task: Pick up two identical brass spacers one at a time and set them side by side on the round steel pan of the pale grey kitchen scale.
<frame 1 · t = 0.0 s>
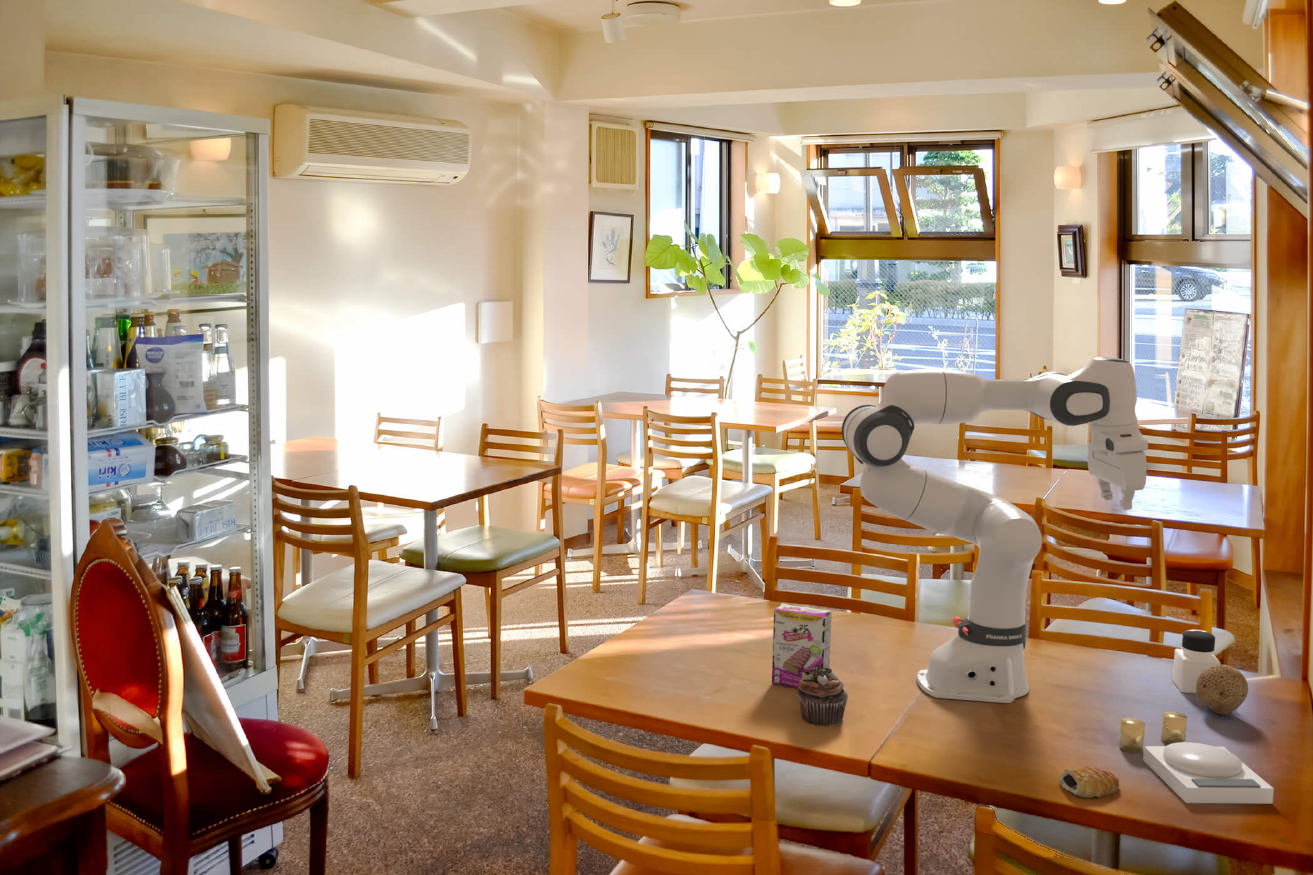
hand: (1116, 504, 223), 39 cm above the table, tool pointing down, fingers open, 8 cm apart
scale: (1204, 780, 186), on the table
cupcake: (821, 718, 212), on the table
candy bar box: (800, 686, 229), on the table
spacer a: (1130, 748, 199), on the table
pastry: (1087, 790, 184), on the table
natural sponge: (1219, 715, 215), on the table
spacer b: (1173, 741, 202), on the table
medicine bottle: (1194, 688, 229), on the table
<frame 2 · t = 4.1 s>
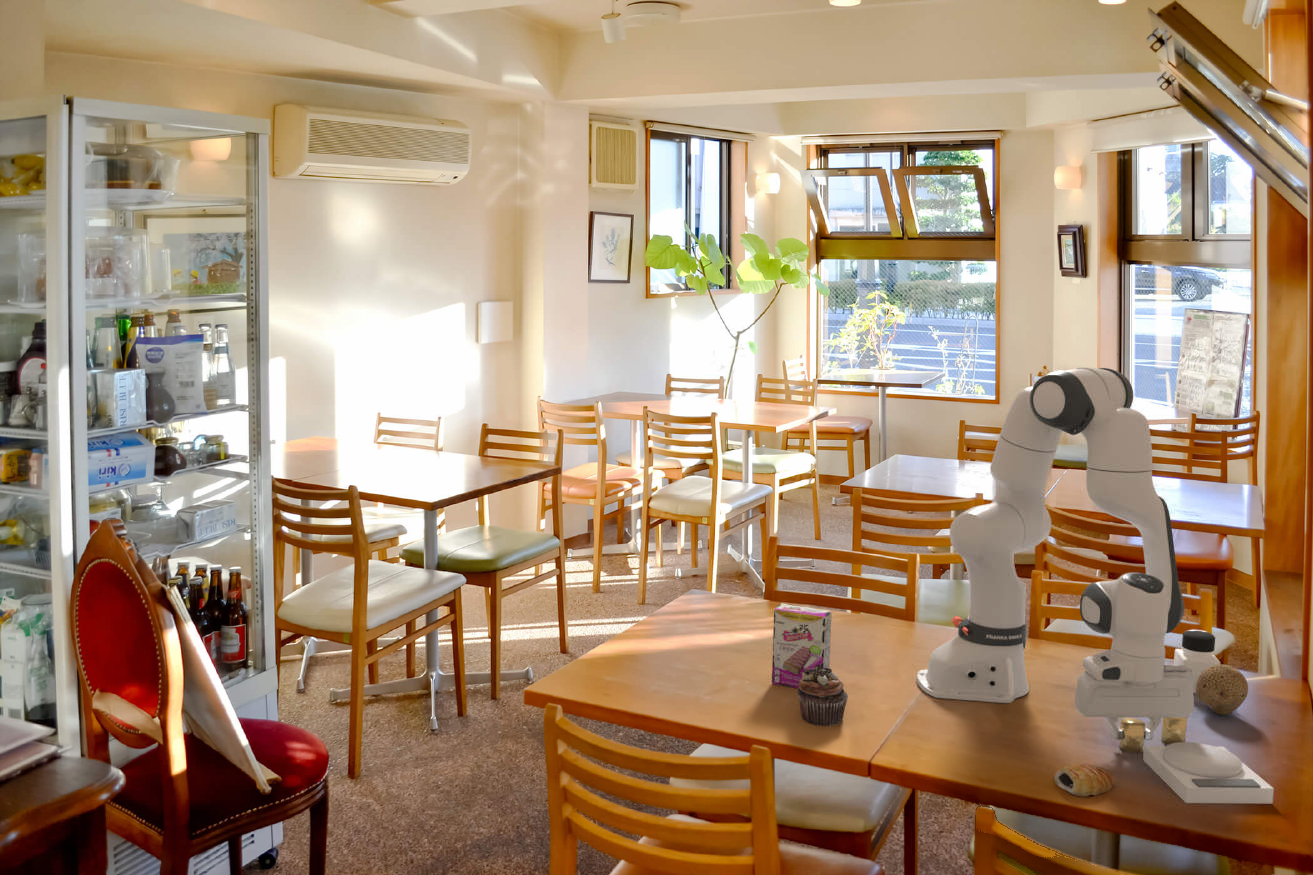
hand: (1131, 738, 199), 2 cm above the table, tool pointing down, fingers closed on spacer a, 4 cm apart
spacer a: (1131, 748, 199), on the table, touching gripper
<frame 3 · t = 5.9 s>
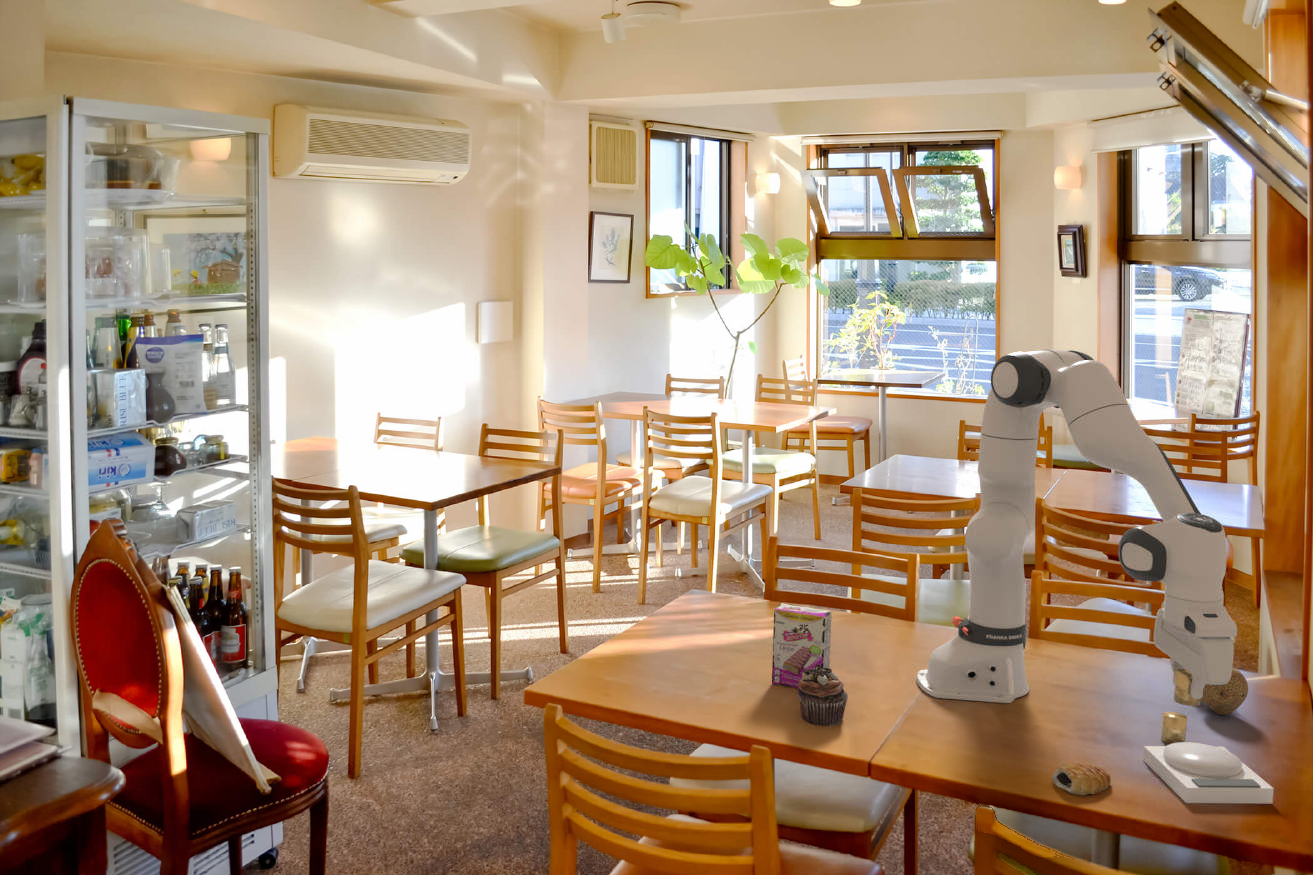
hand: (1187, 691, 186), 15 cm above the table, tool pointing down, fingers closed on spacer a, 4 cm apart
spacer a: (1186, 701, 186), point 14 cm above the table, touching gripper
when the fingers open (7 cm above the table, at t = 7.7 s): spacer a drops 1 cm, resting on scale.
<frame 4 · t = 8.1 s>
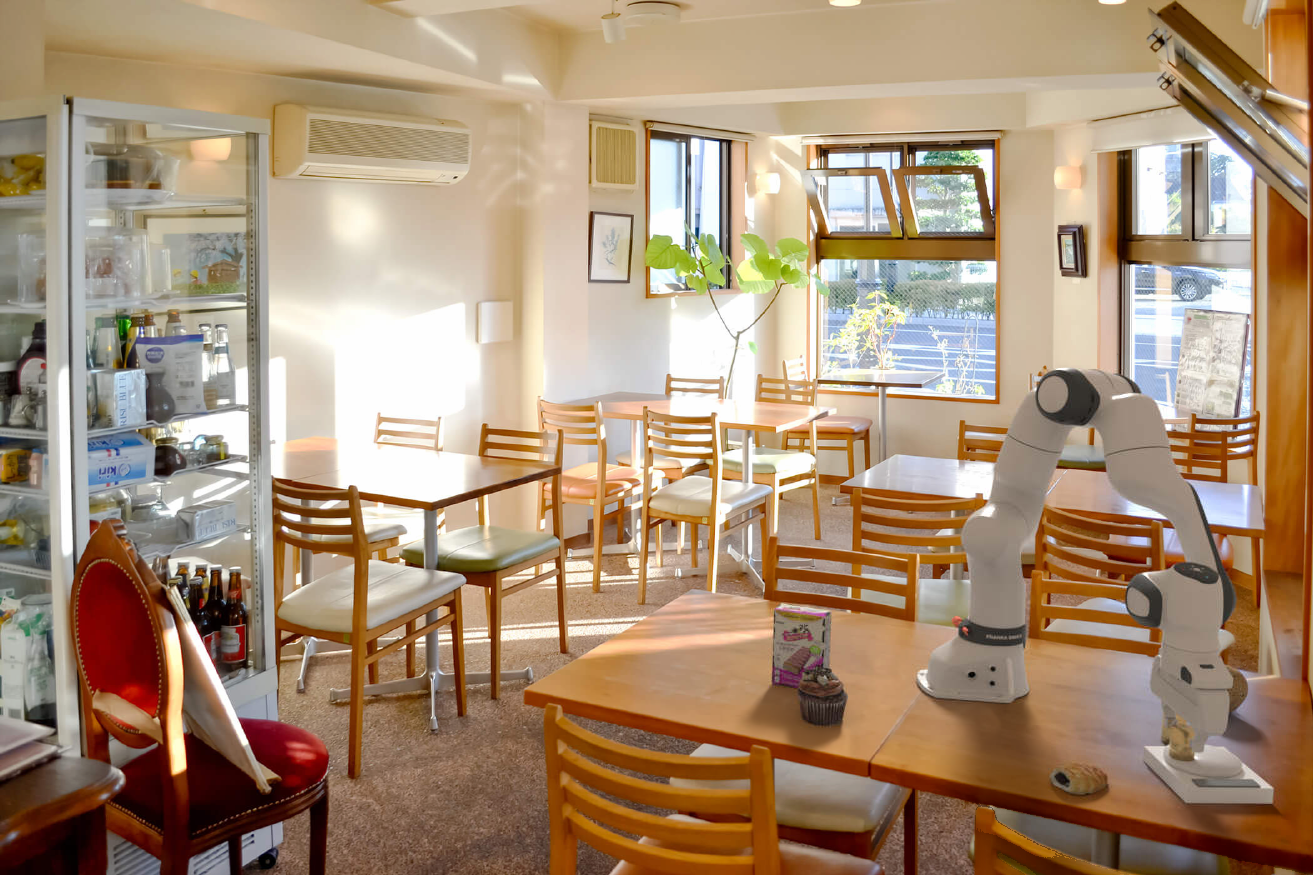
hand: (1182, 738, 187), 7 cm above the table, tool pointing down, fingers open, 8 cm apart
spacer a: (1181, 756, 188), point 4 cm above the table, touching scale
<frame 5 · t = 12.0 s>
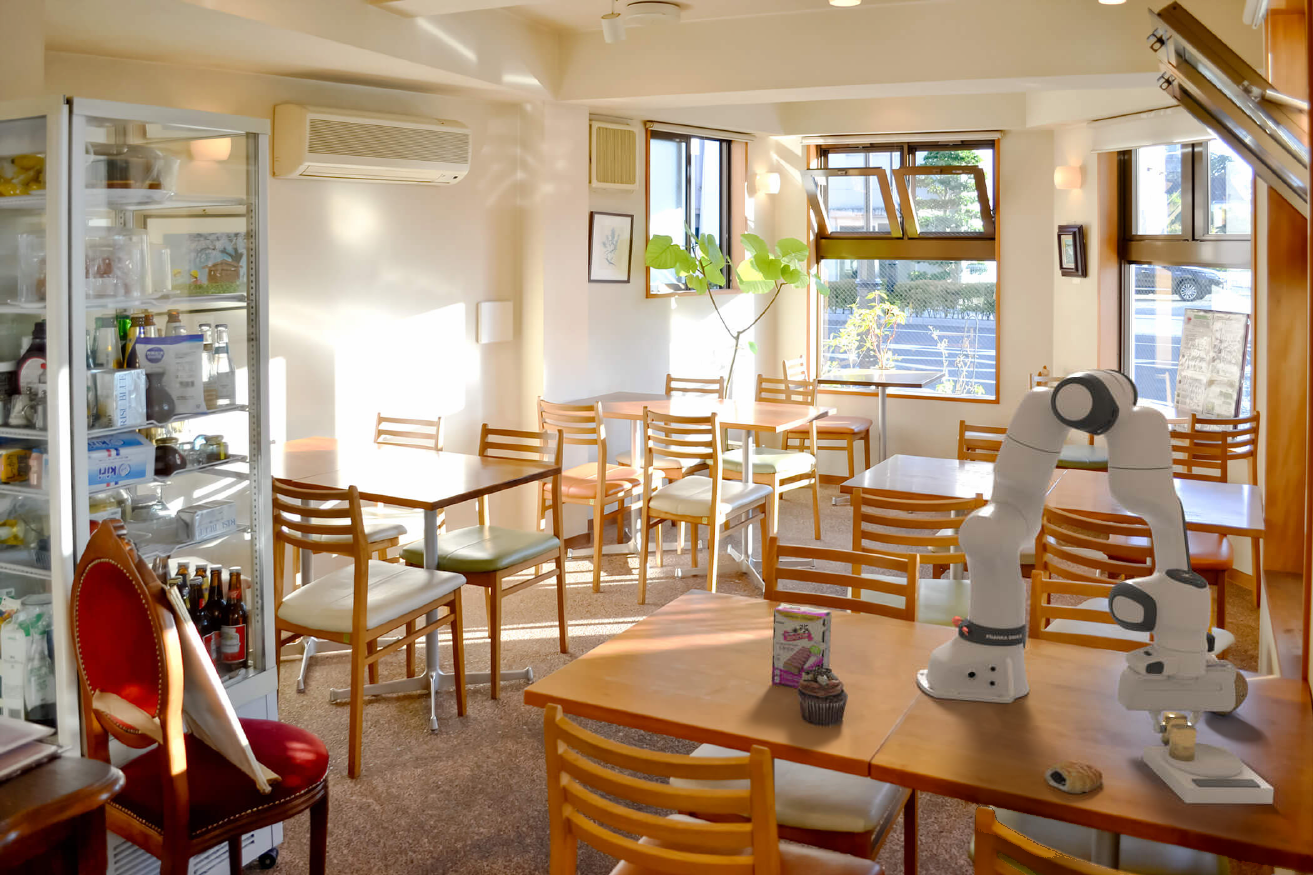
hand: (1173, 732, 202), 2 cm above the table, tool pointing down, fingers closed on spacer b, 4 cm apart
spacer b: (1173, 741, 202), on the table, touching gripper
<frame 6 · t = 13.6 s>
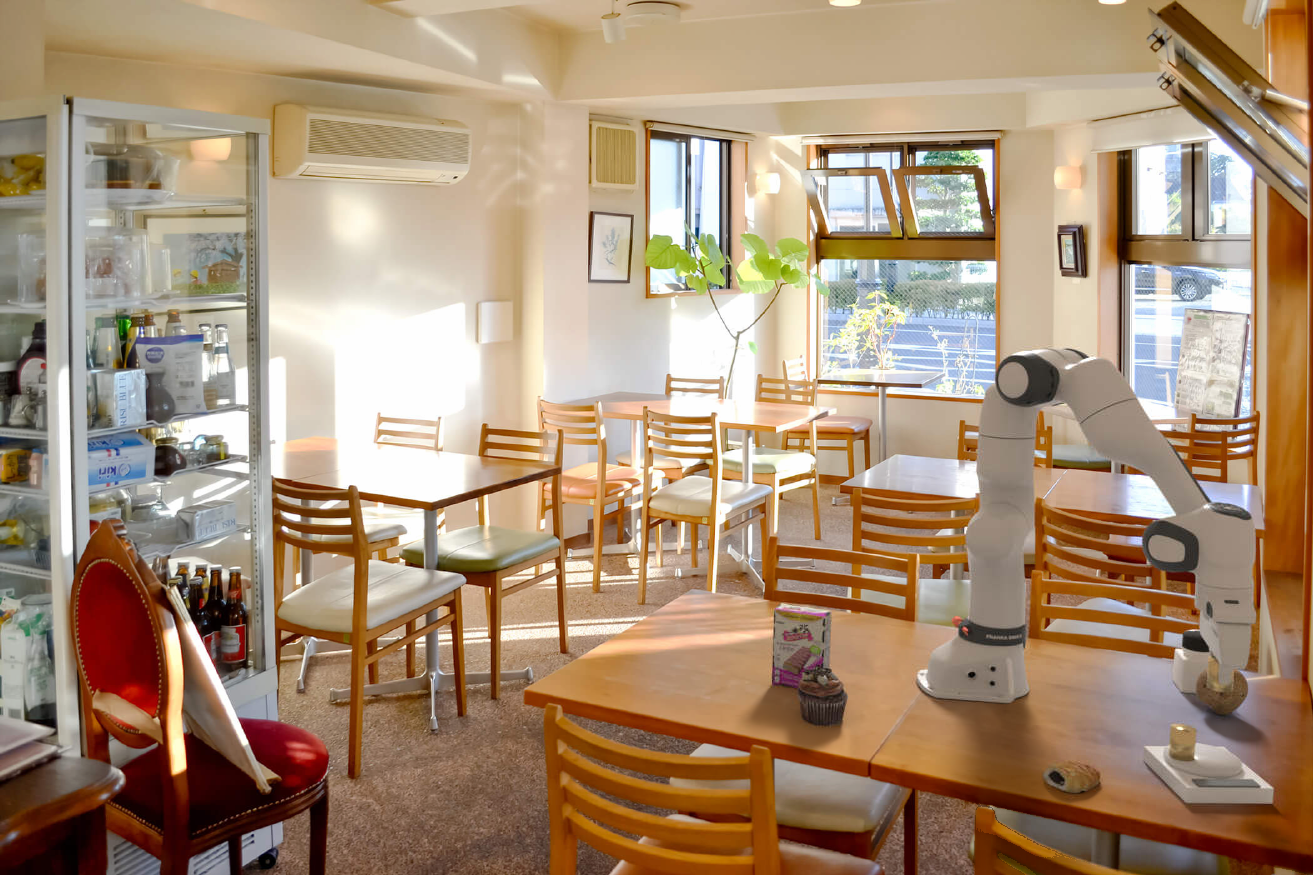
hand: (1220, 677, 189), 16 cm above the table, tool pointing down, fingers closed on spacer b, 4 cm apart
spacer b: (1219, 687, 189), point 15 cm above the table, touching gripper
when the fingers open (7 cm above the table, at t = 15.7 s): spacer b drops 1 cm, resting on scale.
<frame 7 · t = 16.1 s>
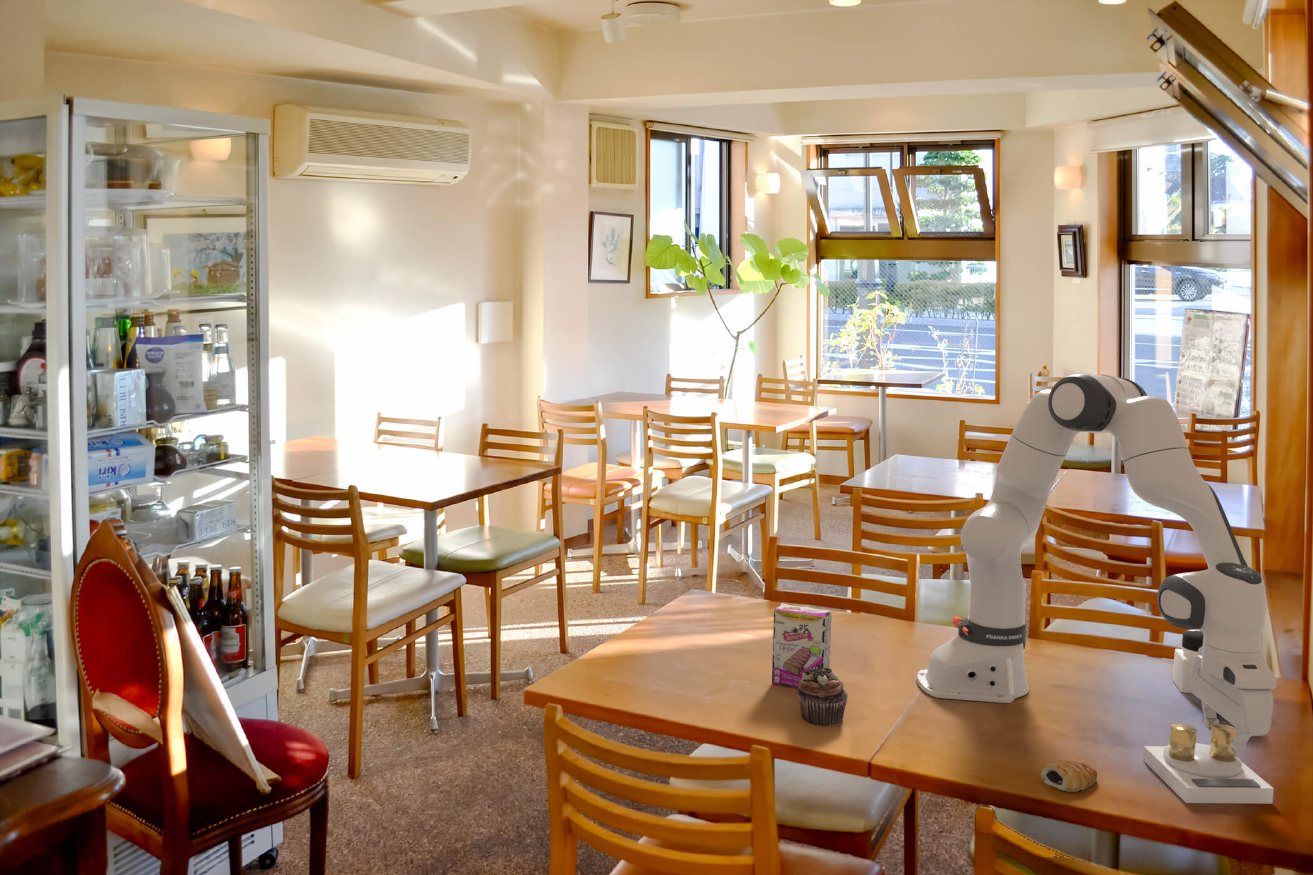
hand: (1224, 739, 187), 7 cm above the table, tool pointing down, fingers open, 8 cm apart
spacer b: (1222, 756, 187), point 4 cm above the table, touching scale
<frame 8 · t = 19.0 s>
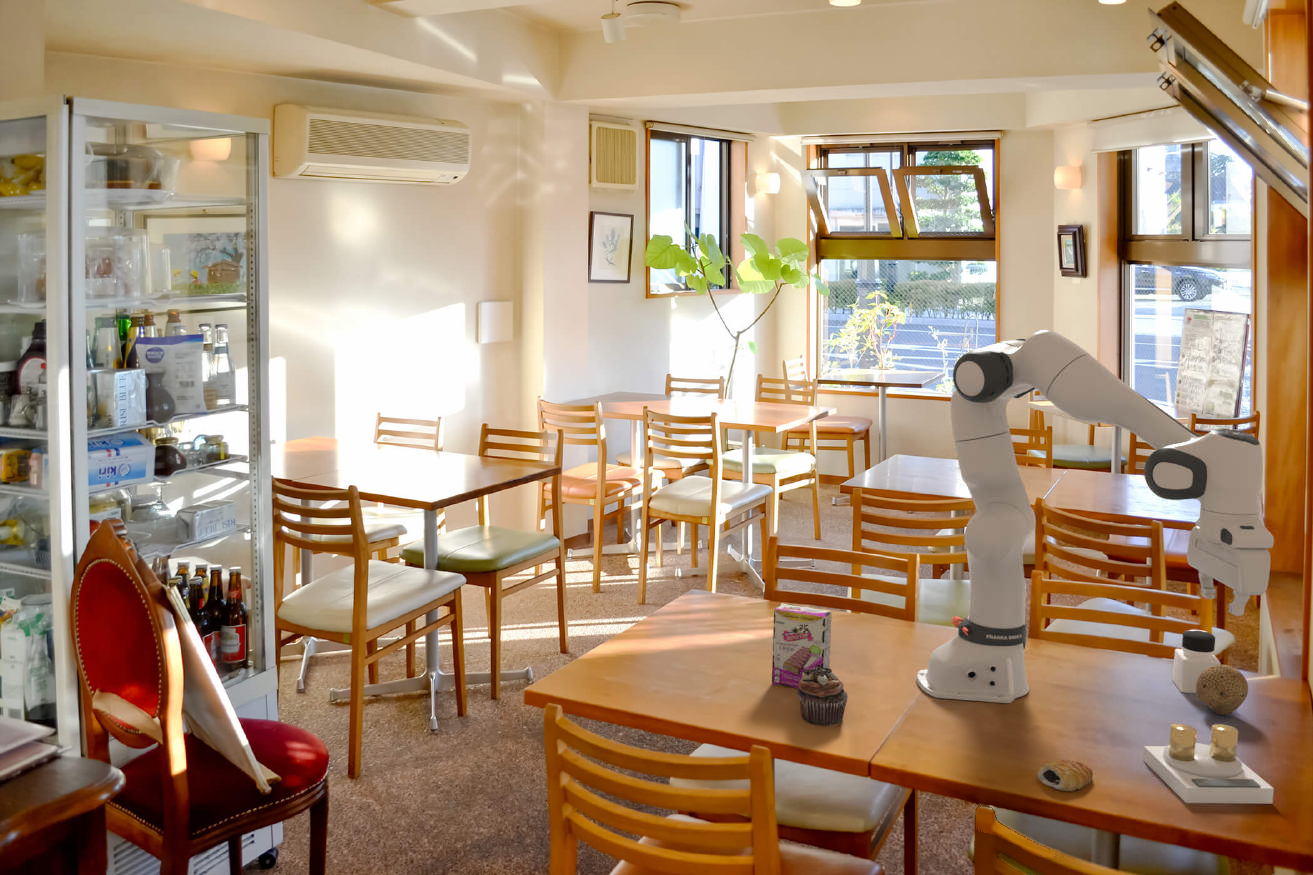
hand: (1221, 605, 187), 29 cm above the table, tool pointing down, fingers open, 8 cm apart
at the end: spacer a inside the target area on the scale (3.5 cm from its centre), point 3.6 cm above the scale's base; spacer b inside the target area on the scale (3.5 cm from its centre), point 3.6 cm above the scale's base; spacer b tilted 0° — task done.
